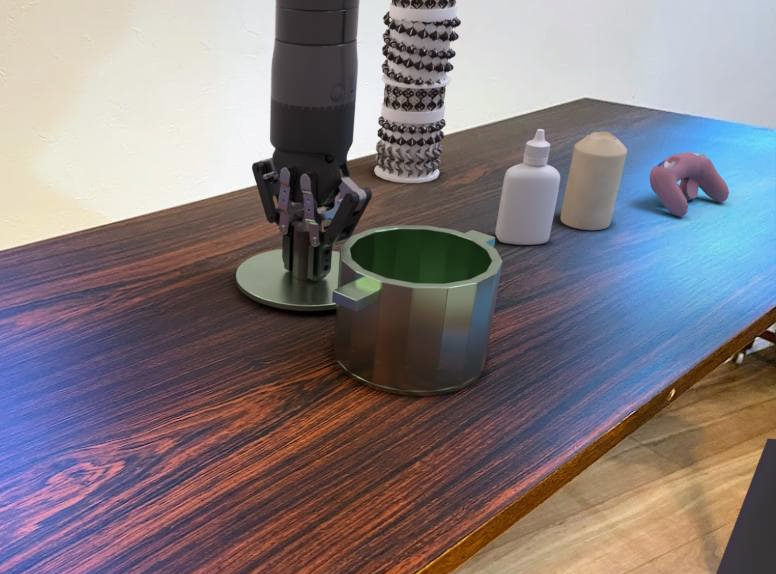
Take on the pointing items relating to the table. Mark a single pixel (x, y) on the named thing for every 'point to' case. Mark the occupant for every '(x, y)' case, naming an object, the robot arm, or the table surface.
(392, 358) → the pot
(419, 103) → the bracelet display stand
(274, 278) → the lid
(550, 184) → the eye dropper bottle
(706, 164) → the video game controller
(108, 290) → the table surface
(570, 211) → the candle
